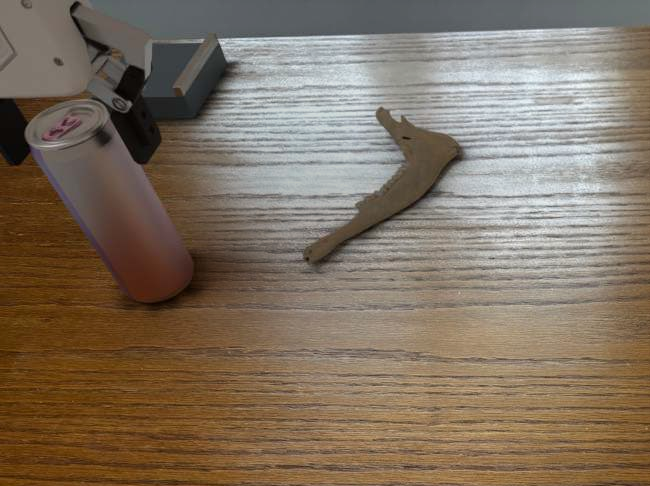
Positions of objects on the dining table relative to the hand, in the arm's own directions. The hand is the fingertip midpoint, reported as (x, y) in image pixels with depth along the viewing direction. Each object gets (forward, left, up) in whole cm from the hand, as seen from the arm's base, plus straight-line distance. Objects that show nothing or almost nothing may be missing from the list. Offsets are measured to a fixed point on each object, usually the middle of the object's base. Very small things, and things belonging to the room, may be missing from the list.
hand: (87, 153), depth 60 cm
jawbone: (+14, +12, -13) cm, 22 cm away
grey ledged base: (-11, +28, -13) cm, 33 cm away
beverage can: (0, 0, -13) cm, 13 cm away
